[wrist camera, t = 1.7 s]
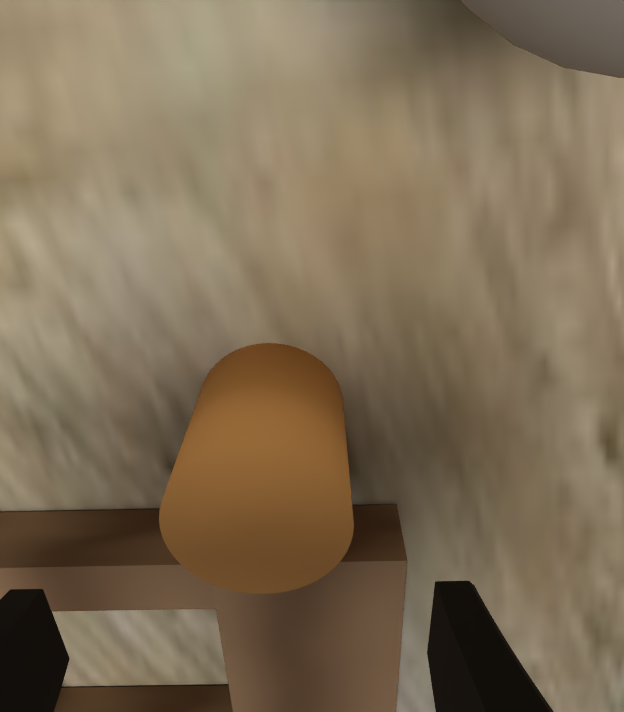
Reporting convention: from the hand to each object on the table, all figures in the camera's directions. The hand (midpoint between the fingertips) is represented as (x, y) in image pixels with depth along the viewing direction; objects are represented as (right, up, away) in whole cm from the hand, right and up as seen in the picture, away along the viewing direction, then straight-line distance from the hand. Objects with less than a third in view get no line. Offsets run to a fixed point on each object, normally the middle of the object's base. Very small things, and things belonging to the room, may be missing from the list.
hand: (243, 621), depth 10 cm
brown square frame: (-4, -6, +11) cm, 13 cm away
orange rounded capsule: (0, +3, +7) cm, 7 cm away
